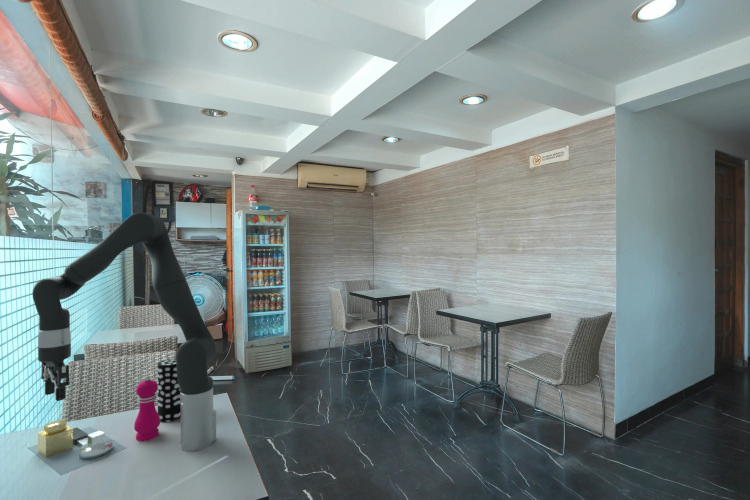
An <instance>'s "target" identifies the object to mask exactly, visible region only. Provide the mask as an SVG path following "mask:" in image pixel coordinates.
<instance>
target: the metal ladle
mask: <svg viewBox="0 0 750 500" xmlns="http://www.w3.org/2000/svg"><path fill="white" fill-rule="evenodd" d="M105 435H106V432H104V431H102V430H97V432H94V433H91V434H87V433H85V432H84V431H82V430H81V429H80V428H79V427H74V428H73V444H74V445H78V446H80V447H81V448H80V449H79V458H80V459H82V460H91V459H96V458H99V457H102V456H104V455H106V454H108V453H109V452H111V451H112V449H113V441H112V440H111V439H112V438H111V439H105Z"/></svg>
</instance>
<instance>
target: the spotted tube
mask: <svg viewBox="0 0 750 500" xmlns="http://www.w3.org/2000/svg"><path fill="white" fill-rule="evenodd" d="M156 367H157V372H156V373H157V376H156V378H157V385H158V389H157V413H158V415H159V417H160V423H171V422H176V421H177V420H181V405H180V386H179V384H178V381H177V366H176V358H170V359H165V360H162V361H159V362H157V366H156Z"/></svg>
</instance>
